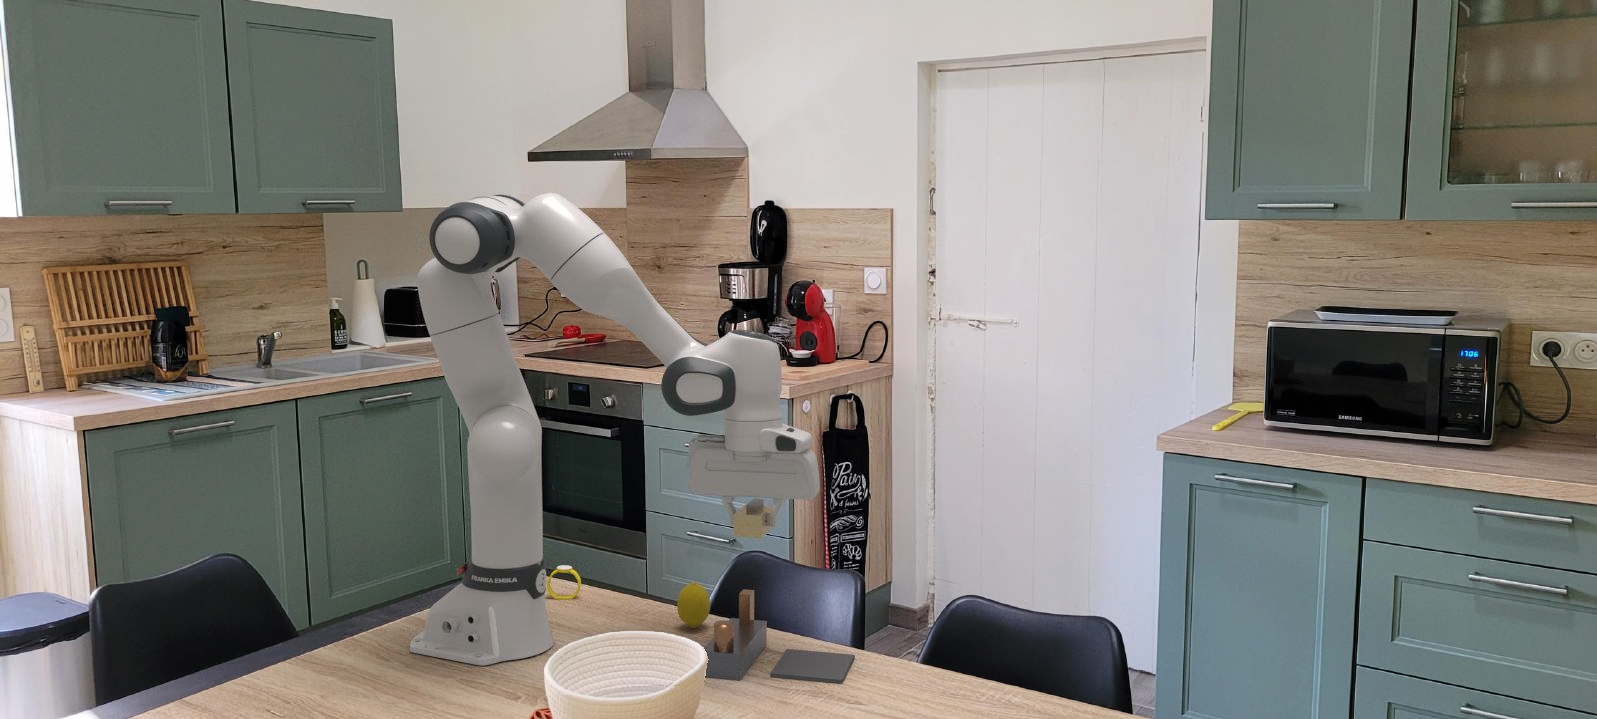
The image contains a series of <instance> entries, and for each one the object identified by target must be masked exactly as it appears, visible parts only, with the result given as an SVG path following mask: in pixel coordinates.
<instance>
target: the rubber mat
mask: <svg viewBox="0 0 1597 719" xmlns="http://www.w3.org/2000/svg"><path fill="white" fill-rule="evenodd" d="M855 656H856V655H855V654H850V653H838V652H829V651H827V652H826V651H819V650H818V651H816V650H806V649H794V648H786V649H785V651H784V652H783V654H782V655H781V656H780V658H779V660H778V661H777V663H776V664H775V665H774V667H773V669H772V670H771V671H770V673H769V675H770V676H769V677H770V678H776V679H777V678H779V679H789V680H797V681H809V682H819V683H829V684H830V683H831V684H839V685H842V684H843V683H844V681H845V679H846V676H847V674H849V671H850V669H851V666H852V665H853V663H854V661H855V659H856V658H855Z"/></svg>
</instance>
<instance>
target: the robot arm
mask: <svg viewBox="0 0 1597 719" xmlns="http://www.w3.org/2000/svg"><path fill="white" fill-rule="evenodd" d="M428 237H429V246H430V249H431V252H432V254H433V255H434V258H431V259H430V260H428V261H427V262H425V264H424V265H423V266H422V267H421V268H420V270H419V271H418V274H417V276H416V277H417V278H416V284H417V292H418V297H419V302H420V307H421V311H422V314H423V318H424V322H425V325H426V328H427V331H428V335H429V337H430V340H431V342H432V345H433V348H434V351H435V354H436V356H437V359H438V362H439V364H440V368H441V370H442V374H443V376H444V379H445V382H446V385H447V386H448V387H449V389H450V392H451V393H452V395H453V398H454V400H455V402H456V404H457V406H458V408H459V411H460V413H461V416H462V418H463V420H464V423H465V426H466V428H467V430H468V434H469V435H468V438H467V448H466V449H467V452H466V453H467V468H468V470H467V472H468V489H469V502H470V503H469V504H470V505H469V506H470V518H471V519H470V522H471V523H470V524H471V525H470V526H471V527H470V528H471V529H470V530H471V532H470V533H471V534H470V535H471V558H470V559H469V560H468V561H466V562H463V563H462V565H461V566H459V567H458V568H456V571H457V572H456V576H460V575H461V574H462V579H461V582H460V583H459V584H458V585H456V586H455V587H454V588H453V589H451V590H450V591H449V592H447V593H446V594H445V595H443V597H441V598H440V599H439V600H437V601H436V602H434V603H433V605H432V606H431V607H430V609H429V611H428V612H427V615H426V619H425V623H424V630H423V631H421V632H420V633H418V634H417V635H415V637H413V638H412V639H411V641H410V643H409V652H410V653H413V654H419V655H424V656H428V657H429V656H430V657H434V658H439V659H445V660H449V661H455V662H460V663H465V664H469V665H470V664H471V665H476V666H489V665H493V664H497V663H501V662H506V661H513V660H520V659H525V658H528V657H534V656H537V655H539V654H541V653H544V652H546V651H548V650H549V649H550V648H552V647H553V646H554V644H555V639H554V636H553V634H552V631H551V626H550V621H549V618H548V616H549V615H548V610H547V604H546V603H547V602H546V595H545V593H546V591H547V590H546V588H547V567H546V566H547V565H546V563H547V562H546V557H545V556H544V553H543V552H544V550H543V549H544V548H543V546H544V544H543V542H544V538H543V537H544V536H543V535H544V533H543V532H544V530H543V523H544V522H543V485H542V484H543V476H542V475H543V473H542V472H543V470H542V469H543V468H542V464H543V463H542V445H543V444H542V440H543V438H542V437H543V436H542V434H543V429H542V424H541V421H540V418H539V415H538V414H537V411H536V408H535V405H534V403H533V400H532V397H531V395H530V393H529V390H528V388H527V385H526V382H525V379H524V377H523V375H522V372H521V370H520V367H519V364H518V362H517V360H516V356H515V354H514V351H513V348H512V345H511V343H510V340H509V336H508V333H507V331H506V329H505V325H504V323H503V320H502V317H501V314H500V311H499V309H498V306H497V303H496V300H495V297H494V295H493V294H494V293H493V292H492V279H493V276H494V274H495V273H501V272H503V271H504V270H505V269H506V268H507V269H508V267H509V266H511V265H512V264H513V263H515V262H517V261H518V260H520V259H521V258H522V259H525V260H527V261H529V262H530V263H532V264H533V265H534V266H535V267H536V268H537V269H538V270H539V271H540V272H541V273H542V274H543V275H544V276H545V277H546V278H547V280H548V281H549V282H551V284H552V285H553V286H554V287H555V288H556V289H557V290H558V291H559V292H560V293H561V295H563V296H564V297H565V298H567V299H568V300H569V301H571V302H572V303H573V304H574V305H576V306H577V307H579V308H580V309H581V310H583V311H584V312H587V313H590V314H593V315H597V316H599V317H602V318H603V317H604V318H607V319H610V320H612V321H613V322H616V323H618V324H620V325H622V326H624V327H625V328H626V329H627V330H629V331H630V332H631V333H632V334H634V336H636V338H637V339H638V340H640V342H642V344H643V345H645V347H646V348H647V349H649V351H650V352H651V353H652V354H654V356H655V357H656V358H658V360H659V361H660V362H661V363H662V364H663V365H664V367H665V370H664V372H663V374H662V377H661V384H660V385H661V386H660V387H661V388H660V389H661V394H662V397H663V399H664V400H665V402H666V404H667V405H668V407H669V408H670V409H672V410H673V411H675V413H677V414H680V415H683V416H688V417H699V416H705V415H709V414H712V413H713V414H714V413H717V412H723V414H724V415H723V418H724V420H723V421H724V426H723V428H724V429H723V432H724V434H711V435H707V434H704V433H703V434H698V435H697V436H696V437H693V438H692V439H691V440H690V441H689V443H688V458H689V460H690V464H689V470H688V472H689V473H688V489H689V491H690V492H691V493H692V494H693V495H696V496H697V495H699V496H700V495H701V496H720V497H721V496H722V497H721V498H722V499H721V500H722V501H721V502H722V504H723V507H724V508H725V509H726V511H727V513H728V514H729V524H730V525H733V526H734V513H736V512H737V511H738V510H737V509H736V507H735V505H734V503H733V502H734V500H735V498H736V497H738V498H740V497H743V498H758V499H764V498H765V499H772V501H773V502H772V505H773V506H776V507H775V508H774V509H773V513H769V514H768V515H766V520H767V522H766V526H770V527H773V528H776V527H777V526H778V525H779V514H780V512H781V510H782V509H783V507H784V506H785V503H786V499H787V500H805V501H806V500H807V501H809V500H810V501H811V500H812V499H814V498H815V497H816V496H817V495H818V494H819V492H820V488H821V487H820V485H821V484H820V483H821V482H820V472H819V465H818V459H817V456H816V453H815V452H814V451H813V449H811V448H810V447H811V445H812V442H813V436H812V434H811V433H810V432H808V431H805V430H803V429H799V428H798V427H797V428H796V427H794V426H791V425H788V424H785V423H783V413H782V410H781V406H780V398H781V394H782V391H783V390H782V389H783V382H782V380H783V379H782V378H783V377H782V376H783V375H782V361H781V360H782V359H781V355H780V354H781V352H780V349H779V346H778V343H777V342H776V340H774V338H773V337H771V336H770V335H768V334H766V333H763V332H759V331H753V330H749V329H747V330H746V329H733V330H730V331H728V333H727V334H725V335H724V336H722V337H720V338H719V339H718V340H716V341H714V342H712V343H710V344H708V343H704V342H702V341H700V340H698V339H697V338H695V337H694V336H692V335H691V334H690V333H689V332H688V331H687V330H686V329H685V328H684V327H683V326H682V324H680V323H679V322H678V321H677V320H676V319H675V318H674V317H673V316H672V315H671V313H669V312H668V310H667V309H665V307H663V306H662V304H661V303H660V302H659V301H658V300H657V299H656V298H655V297H654V296H653V295H652V294H651V292H650V291H649V289H648V288H647V287H646V286H645V284H644V282H643V281H642V279H641V278H640V277H639V275H638V274H637V273H636V271H635V270H634V268H633V267H632V266H631V264H630V262H629V261H628V260H627V258H626V257H625V255H624V254H623V252H621V250H620V249H619V247H618V246H617V245H616V244H615V243H614V242H613V240H612V239H611V238H610V237H609V236H608V235H607V233H605V231H604V230H603V229H601V227H599V225H598V224H597V223H596V222H594V221H593V219H591V218H590V217H589V216H588V215H587V214H586V213H584V212H583V211H582V209H580V208H579V207H577V205H575V204H573V203H572V202H571V201H569V200H568V199H567V198H565V197H564V196H562V195H560V194H559V193H555V192H544V193H541V194H539V195H536V196H534V197H533V198H531V199H529V200H528V201H527V202H526V203H524V202H523V201H521V200H520V199H518V198H516V197H514V196H511V195H507V194H493V195H481V196H475V197H472V198H470V199H467V200H465V201H460V202H456V203H453V204H451V205H449V206H448V207H446V208H444V209H443V210H442V211H440V212H439V213H438V214H437V216H436V217H435V218H434V220H433V222H432V224H431V226H430V230H429V236H428Z"/></svg>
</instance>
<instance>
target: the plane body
mask: <svg viewBox="0 0 1597 719" xmlns="http://www.w3.org/2000/svg"><path fill="white" fill-rule="evenodd" d="M738 598H739V599H738V602H739V603H738V618H735V617H731V618H730V619H729V620H727V619H726V620H725V619H724V620H723V619H722V620H716V621H715V622H713V638H712V639H711V640H710V641H709V642H708V643H707V644H706V646H704V648H703V649H705V651H706V652H707V656H708V659H709V660H708V663H707V669H706V677H705V678H710V679H711V678H712V679H719V680H720V679H722V680H729V681H730V680H731V681H732V680H733V681H741V680H742V678H743V677H744V676H745V674H746V673H747V671H748V670H749V669H750V668H751V666H752V665H753V664H754V662H755V661H756V660H757V658H759V656H760V654H761V653H762V651H763V650H764V649H765V647H766V646H767V637H768V636H767V627H768V626H767V624H768V622H767V620H761V619H755V590H754V589H745V588H744V589H742V590H741V591H740V592H739V593H738Z"/></svg>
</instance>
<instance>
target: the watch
mask: <svg viewBox="0 0 1597 719" xmlns="http://www.w3.org/2000/svg"><path fill="white" fill-rule="evenodd" d="M557 573H561V574H565V573H570V574H571V575H573V576H574V577H575V579H576V580H577V589H576V592H574V593H573V594H572V595H558V594H557V593H556V592H554V591H553V589H552V586H551V580H552V577H553V576H554V575H555V574H557ZM581 587H582V578H581V576H580V574H578V572H577V571H576V570H574V569H573V566H571V565H568V564H567V565H566V564H565V565H564V564H562V565H558V566H557V567H556V569H555V570H553V571H552V572H551V573H550V575H549V577H548V579H547V580H546V588H547V592H548V594H549V595H550V596H551V597H552V598H553V599H555V600H573V599H574V598H576V596H577V595H578V594H579V592H580V590H581Z"/></svg>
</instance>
